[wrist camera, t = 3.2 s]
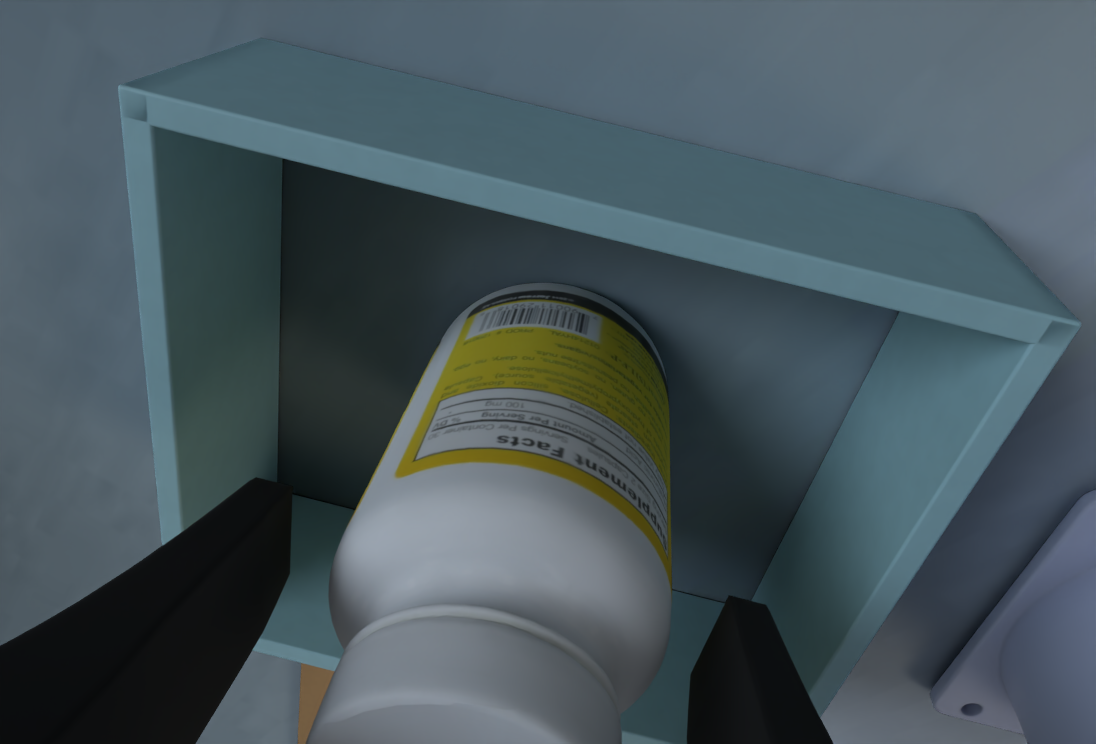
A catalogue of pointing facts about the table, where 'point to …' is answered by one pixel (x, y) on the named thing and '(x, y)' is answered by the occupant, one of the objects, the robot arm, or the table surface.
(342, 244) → the table surface
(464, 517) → the supplement bottle
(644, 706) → the container
